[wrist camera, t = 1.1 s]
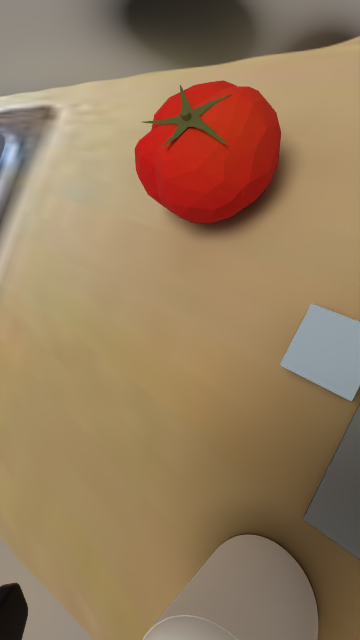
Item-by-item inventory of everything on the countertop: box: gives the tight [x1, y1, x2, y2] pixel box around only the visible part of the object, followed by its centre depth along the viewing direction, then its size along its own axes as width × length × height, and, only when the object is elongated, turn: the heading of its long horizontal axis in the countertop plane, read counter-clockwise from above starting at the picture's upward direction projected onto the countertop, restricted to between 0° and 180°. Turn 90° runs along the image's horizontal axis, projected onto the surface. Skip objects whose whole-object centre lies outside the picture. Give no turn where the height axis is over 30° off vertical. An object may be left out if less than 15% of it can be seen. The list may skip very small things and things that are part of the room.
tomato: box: [135, 81, 281, 223], centre depth 28 cm, size 11×13×10 cm
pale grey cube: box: [280, 303, 360, 402], centre depth 23 cm, size 5×5×4 cm
